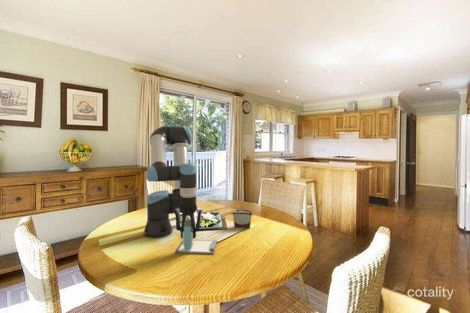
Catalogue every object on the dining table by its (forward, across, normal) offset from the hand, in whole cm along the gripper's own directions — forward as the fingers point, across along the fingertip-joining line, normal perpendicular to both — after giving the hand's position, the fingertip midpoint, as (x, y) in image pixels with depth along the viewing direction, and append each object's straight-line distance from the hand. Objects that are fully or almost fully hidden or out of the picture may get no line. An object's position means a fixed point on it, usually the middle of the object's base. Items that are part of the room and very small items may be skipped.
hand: (188, 244), depth 114 cm
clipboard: (+3, +4, +4) cm, 6 cm away
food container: (+3, +25, +34) cm, 43 cm away
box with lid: (+2, 0, 0) cm, 2 cm away
